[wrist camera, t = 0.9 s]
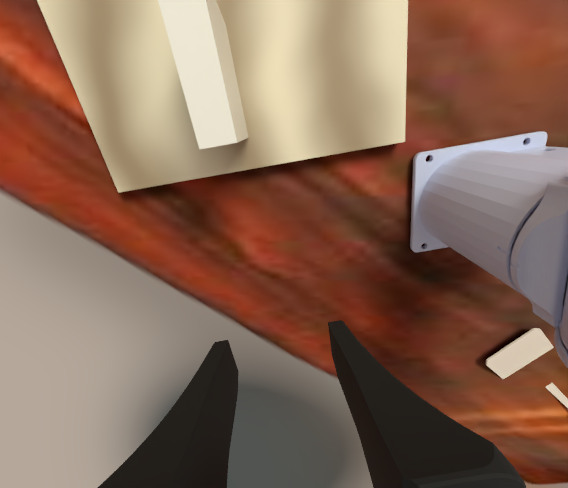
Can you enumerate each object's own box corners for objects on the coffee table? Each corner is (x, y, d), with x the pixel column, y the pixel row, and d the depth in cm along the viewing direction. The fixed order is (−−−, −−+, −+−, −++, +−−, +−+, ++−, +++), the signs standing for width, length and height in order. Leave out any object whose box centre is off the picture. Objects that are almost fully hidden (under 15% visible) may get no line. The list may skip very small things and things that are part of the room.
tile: (225, 24, 15) (194, -54, 9) (248, 137, 17) (237, 142, 11) (197, 29, 15) (145, -44, 9) (224, 141, 17) (198, 149, 11)
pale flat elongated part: (524, 316, 27) (538, 326, 26) (624, 427, 36) (638, 439, 35) (473, 351, 29) (483, 362, 27) (580, 449, 38) (592, 461, 36)
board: (401, -154, 13) (411, -175, 12) (398, 141, 19) (404, 141, 18) (15, -79, 14) (-3, -94, 13) (125, 189, 19) (118, 192, 18)
